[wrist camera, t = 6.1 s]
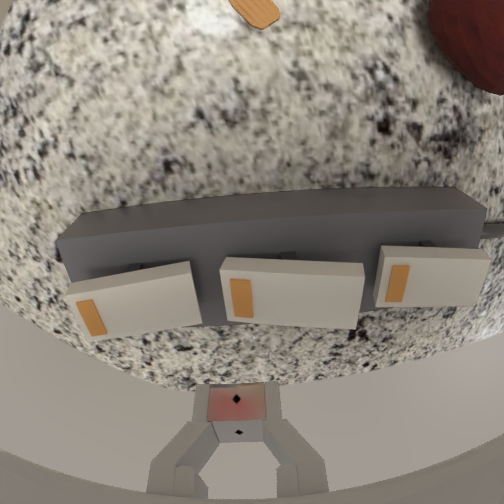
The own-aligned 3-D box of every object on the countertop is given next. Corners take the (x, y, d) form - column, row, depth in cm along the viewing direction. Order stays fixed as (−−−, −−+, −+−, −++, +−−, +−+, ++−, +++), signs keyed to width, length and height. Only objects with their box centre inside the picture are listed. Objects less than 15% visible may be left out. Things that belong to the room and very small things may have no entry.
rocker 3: (483, 249, 15) (492, 260, 14) (468, 294, 17) (475, 307, 15) (381, 245, 16) (385, 258, 15) (372, 294, 18) (375, 308, 17)
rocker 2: (362, 263, 15) (365, 278, 14) (354, 314, 16) (355, 331, 15) (226, 256, 16) (218, 271, 15) (233, 306, 18) (226, 322, 17)
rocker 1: (189, 260, 16) (191, 274, 15) (200, 309, 18) (202, 325, 17) (69, 283, 15) (64, 297, 14) (90, 328, 17) (87, 343, 16)
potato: (425, 91, 16) (483, 101, 11) (396, -22, 12) (446, -47, 6) (496, 90, 15) (552, 103, 10) (475, -10, 11) (528, -18, 6)
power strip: (531, 190, 19) (566, 213, 15) (514, 256, 22) (542, 284, 18) (82, 213, 19) (47, 248, 15) (109, 294, 23) (87, 338, 18)
